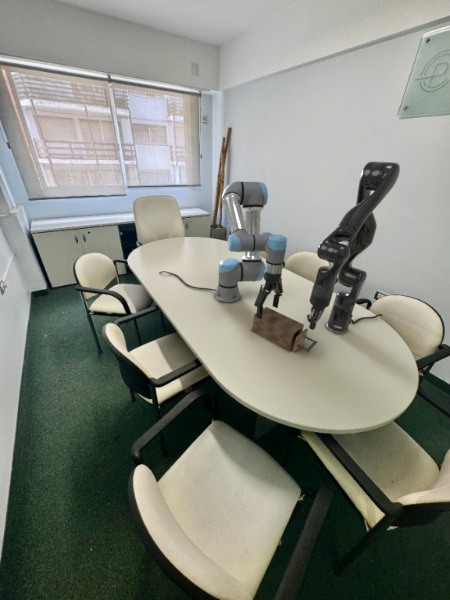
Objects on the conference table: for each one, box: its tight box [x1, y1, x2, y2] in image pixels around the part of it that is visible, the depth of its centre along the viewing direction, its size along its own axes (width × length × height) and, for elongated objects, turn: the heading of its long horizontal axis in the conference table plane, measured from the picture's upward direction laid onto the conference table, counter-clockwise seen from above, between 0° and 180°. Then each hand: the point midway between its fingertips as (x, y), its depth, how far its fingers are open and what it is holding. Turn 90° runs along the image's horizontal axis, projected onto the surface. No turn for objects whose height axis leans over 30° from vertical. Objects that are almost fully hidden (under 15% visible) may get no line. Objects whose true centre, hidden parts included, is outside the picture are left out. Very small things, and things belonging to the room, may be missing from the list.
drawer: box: [291, 327, 318, 353], centre depth 112 cm, size 25×9×8 cm, turn 47°
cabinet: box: [251, 306, 305, 352], centre depth 116 cm, size 21×10×10 cm, turn 47°
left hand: (267, 312), depth 116 cm, fingers open, 13 cm apart
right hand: (311, 328), depth 102 cm, fingers closed
